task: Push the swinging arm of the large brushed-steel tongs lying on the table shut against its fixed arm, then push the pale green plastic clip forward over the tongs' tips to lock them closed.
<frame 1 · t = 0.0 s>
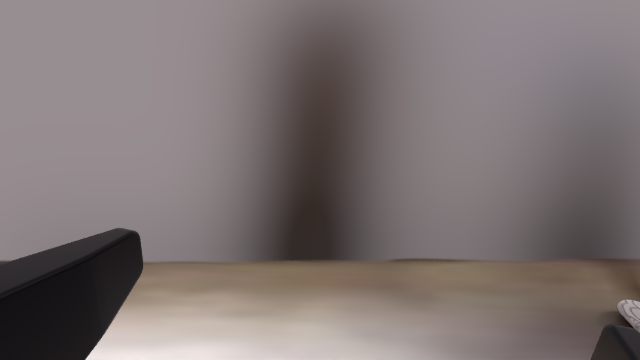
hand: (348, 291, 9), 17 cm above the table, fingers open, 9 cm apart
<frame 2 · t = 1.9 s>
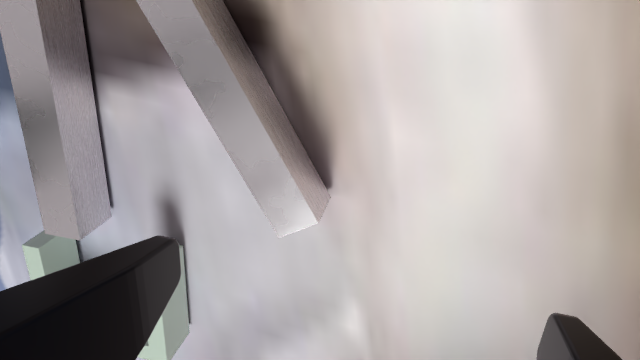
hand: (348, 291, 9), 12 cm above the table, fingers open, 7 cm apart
lock clip: (111, 291, 26), point 2 cm above the table, slide at 0.0 cm
tongs fixed arm: (74, 58, 22), on the table
tong arm: (186, 12, 18), point 2 cm above the table, hinge at 32.0°
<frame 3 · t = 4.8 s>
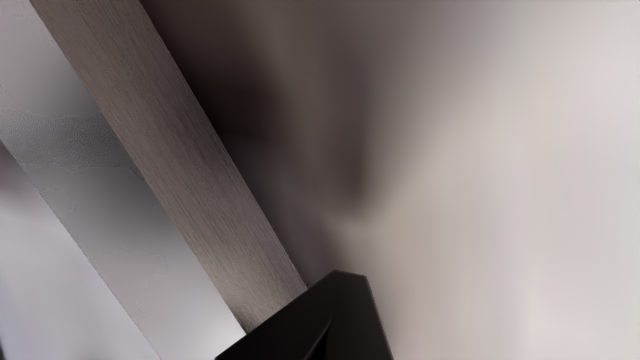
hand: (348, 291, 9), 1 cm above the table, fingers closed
tong arm: (84, 90, 8), point 2 cm above the table, hinge at 31.0°, touching gripper
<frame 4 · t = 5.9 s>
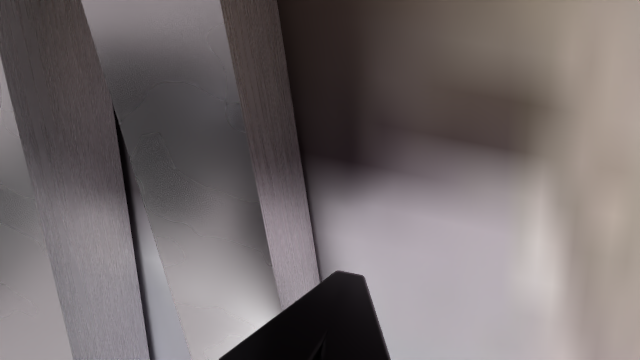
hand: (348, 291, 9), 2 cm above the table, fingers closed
tongs fixed arm: (91, 166, 11), on the table
tong arm: (220, 147, 8), point 2 cm above the table, hinge at 10.1°, touching gripper
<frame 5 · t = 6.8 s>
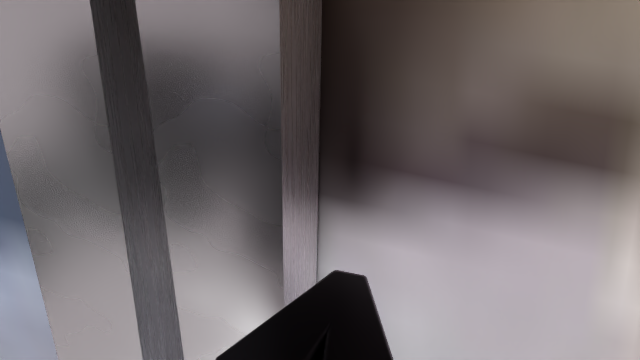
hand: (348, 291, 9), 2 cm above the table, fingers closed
tongs fixed arm: (158, 177, 11), on the table
tong arm: (245, 161, 8), point 2 cm above the table, hinge at 1.9°, touching gripper
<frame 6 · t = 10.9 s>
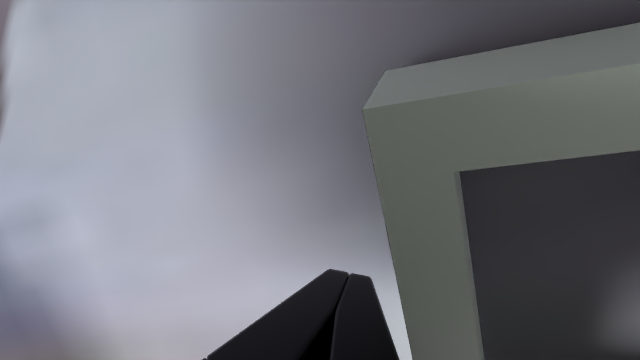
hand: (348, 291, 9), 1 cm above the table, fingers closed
lock clip: (605, 290, 8), point 2 cm above the table, slide at 1.1 cm, touching gripper
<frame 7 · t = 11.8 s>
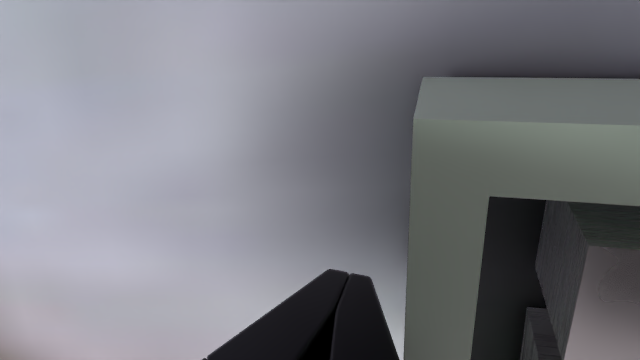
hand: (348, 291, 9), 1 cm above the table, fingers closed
lock clip: (592, 326, 8), point 2 cm above the table, slide at 4.7 cm, touching gripper
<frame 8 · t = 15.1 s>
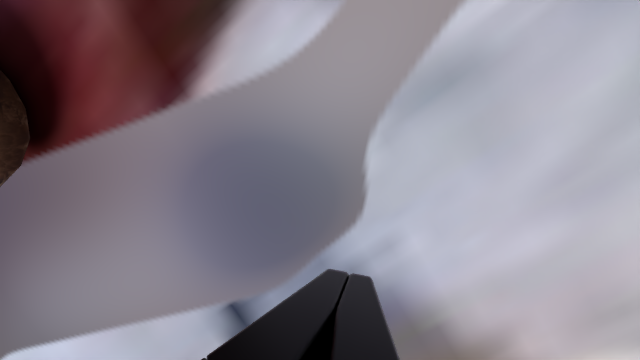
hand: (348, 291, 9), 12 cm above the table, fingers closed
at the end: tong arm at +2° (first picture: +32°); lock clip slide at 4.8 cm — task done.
